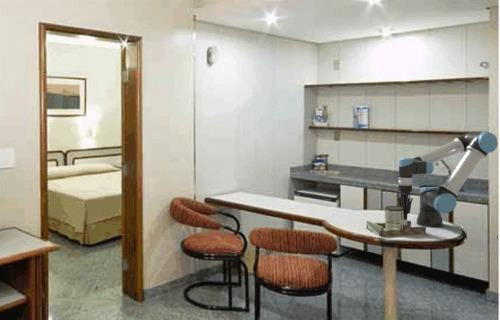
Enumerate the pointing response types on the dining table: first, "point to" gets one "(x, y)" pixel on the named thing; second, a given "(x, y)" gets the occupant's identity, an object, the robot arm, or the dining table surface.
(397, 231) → the shallow brown tray
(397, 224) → the coffee can
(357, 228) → the dining table surface
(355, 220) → the dining table surface
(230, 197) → the dining table surface
